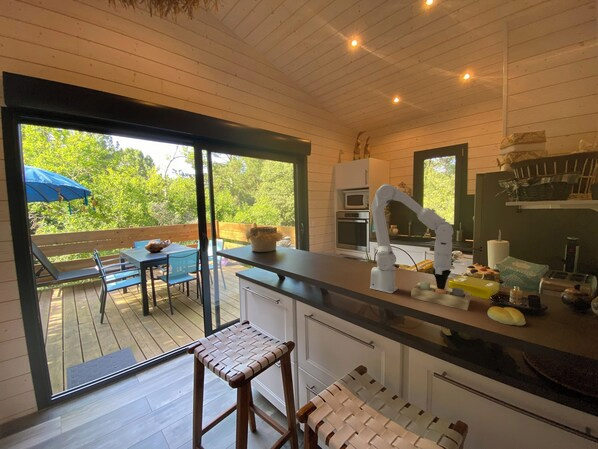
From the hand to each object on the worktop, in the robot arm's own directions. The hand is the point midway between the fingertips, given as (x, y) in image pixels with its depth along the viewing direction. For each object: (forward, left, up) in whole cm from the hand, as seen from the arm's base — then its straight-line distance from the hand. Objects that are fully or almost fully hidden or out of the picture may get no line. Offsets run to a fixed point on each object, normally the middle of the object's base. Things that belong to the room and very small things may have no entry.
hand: (440, 288), depth 93 cm
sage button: (-6, 0, -2) cm, 6 cm away
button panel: (0, 0, -4) cm, 4 cm away
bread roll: (+19, -6, -4) cm, 20 cm away
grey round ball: (+5, 0, -2) cm, 6 cm away
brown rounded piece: (0, 0, -3) cm, 3 cm away
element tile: (+9, +20, -5) cm, 22 cm away
